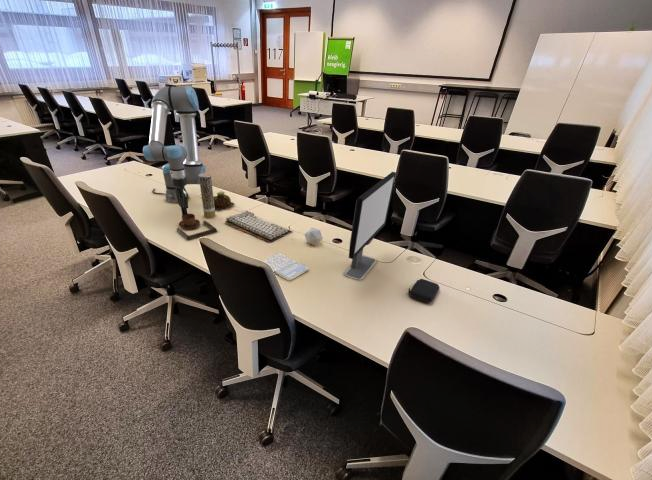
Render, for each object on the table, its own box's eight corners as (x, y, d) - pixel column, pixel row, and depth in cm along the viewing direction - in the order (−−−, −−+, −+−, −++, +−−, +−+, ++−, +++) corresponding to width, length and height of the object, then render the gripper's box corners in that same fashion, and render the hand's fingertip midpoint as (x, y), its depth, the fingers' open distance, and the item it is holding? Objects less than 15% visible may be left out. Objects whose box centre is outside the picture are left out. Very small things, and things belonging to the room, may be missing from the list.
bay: (177, 231, 184) (176, 228, 183) (205, 223, 193) (204, 220, 192) (188, 240, 175) (187, 237, 174) (216, 232, 184) (216, 228, 183)
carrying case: (415, 281, 149) (404, 296, 139) (416, 275, 147) (406, 290, 137) (439, 289, 144) (430, 306, 134) (441, 283, 142) (432, 300, 132)
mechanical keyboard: (292, 231, 187) (292, 226, 185) (269, 243, 175) (269, 237, 173) (245, 214, 206) (245, 208, 204) (222, 223, 194) (221, 218, 192)
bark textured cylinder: (216, 214, 204) (212, 173, 189) (213, 218, 198) (208, 176, 184) (206, 213, 204) (200, 172, 189) (202, 218, 199) (197, 176, 184)
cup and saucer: (195, 231, 184) (193, 221, 180) (175, 229, 186) (173, 219, 182) (204, 223, 193) (202, 213, 190) (185, 220, 195) (183, 211, 191)
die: (324, 244, 177) (320, 226, 177) (321, 243, 168) (317, 224, 168) (309, 248, 179) (305, 230, 179) (306, 247, 171) (301, 228, 170)
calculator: (278, 255, 165) (278, 252, 164) (308, 270, 154) (309, 267, 153) (259, 265, 157) (258, 261, 156) (289, 281, 146) (289, 278, 145)
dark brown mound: (219, 199, 224) (217, 185, 218) (239, 204, 218) (238, 189, 213) (203, 208, 211) (201, 193, 205) (224, 213, 206) (222, 197, 200)
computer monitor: (352, 290, 142) (368, 200, 118) (334, 284, 145) (346, 195, 121) (383, 252, 170) (401, 173, 146) (368, 248, 173) (383, 169, 149)
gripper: (167, 175, 178) (174, 216, 192) (177, 181, 170) (184, 224, 184) (180, 173, 182) (186, 213, 196) (190, 179, 174) (196, 221, 188)
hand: (185, 218), depth 190 cm, fingers closed
